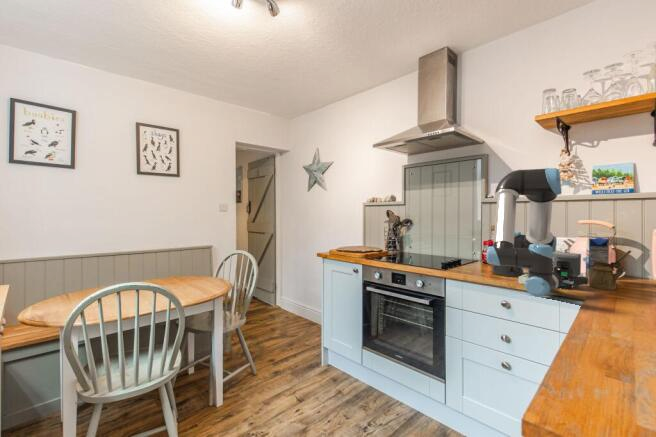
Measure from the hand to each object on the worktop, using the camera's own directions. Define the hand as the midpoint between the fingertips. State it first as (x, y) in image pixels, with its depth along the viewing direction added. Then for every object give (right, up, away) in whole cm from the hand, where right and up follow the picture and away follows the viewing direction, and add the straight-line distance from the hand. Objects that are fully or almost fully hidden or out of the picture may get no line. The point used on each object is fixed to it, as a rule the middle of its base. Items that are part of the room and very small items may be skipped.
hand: (562, 274), depth 135 cm
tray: (-6, -6, +9) cm, 13 cm away
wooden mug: (+22, -7, +1) cm, 23 cm away
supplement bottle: (+1, -6, +2) cm, 7 cm away
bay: (+2, -6, +2) cm, 7 cm away
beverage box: (+26, -6, +12) cm, 29 cm away
